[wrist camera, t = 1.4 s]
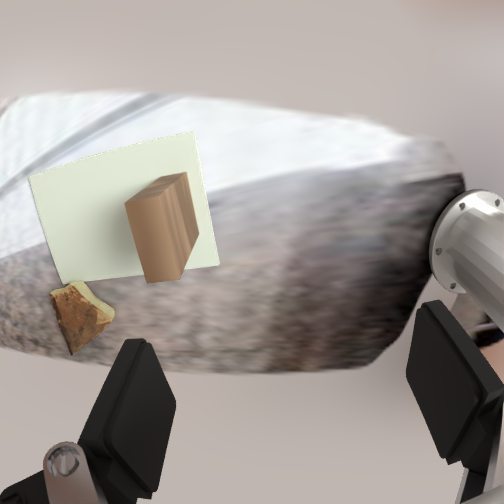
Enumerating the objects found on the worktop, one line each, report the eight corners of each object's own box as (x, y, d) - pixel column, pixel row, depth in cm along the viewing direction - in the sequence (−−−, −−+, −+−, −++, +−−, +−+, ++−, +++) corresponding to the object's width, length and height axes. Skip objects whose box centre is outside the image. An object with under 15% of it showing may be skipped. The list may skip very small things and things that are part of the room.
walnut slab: (186, 171, 28) (158, 196, 20) (199, 233, 30) (179, 279, 22) (160, 176, 28) (124, 203, 20) (174, 237, 31) (146, 283, 22)
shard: (75, 348, 38) (70, 357, 36) (32, 312, 35) (27, 320, 33) (119, 312, 35) (115, 322, 33) (70, 268, 32) (64, 277, 30)
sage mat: (194, 130, 27) (193, 131, 27) (219, 262, 32) (219, 265, 32) (31, 175, 28) (28, 176, 28) (65, 281, 34) (62, 284, 33)
